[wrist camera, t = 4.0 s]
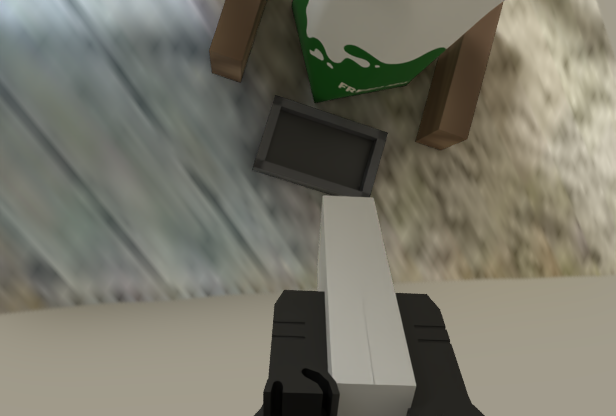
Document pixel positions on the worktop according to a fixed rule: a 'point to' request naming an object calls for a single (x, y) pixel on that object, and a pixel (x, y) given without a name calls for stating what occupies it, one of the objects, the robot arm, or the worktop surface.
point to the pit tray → (319, 150)
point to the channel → (444, 88)
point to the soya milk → (377, 40)
